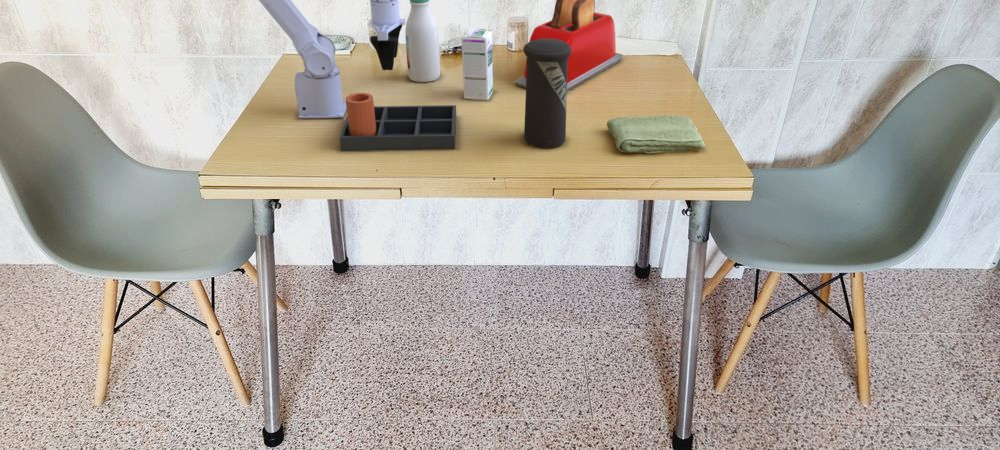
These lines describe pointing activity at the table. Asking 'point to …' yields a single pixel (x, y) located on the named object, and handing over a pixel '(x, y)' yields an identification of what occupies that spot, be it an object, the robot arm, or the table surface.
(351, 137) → the tray
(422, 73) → the milk bottle
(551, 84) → the container
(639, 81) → the table surface
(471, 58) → the syrup box
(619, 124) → the washcloth
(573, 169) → the table surface
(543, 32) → the toaster
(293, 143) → the table surface
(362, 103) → the jar
